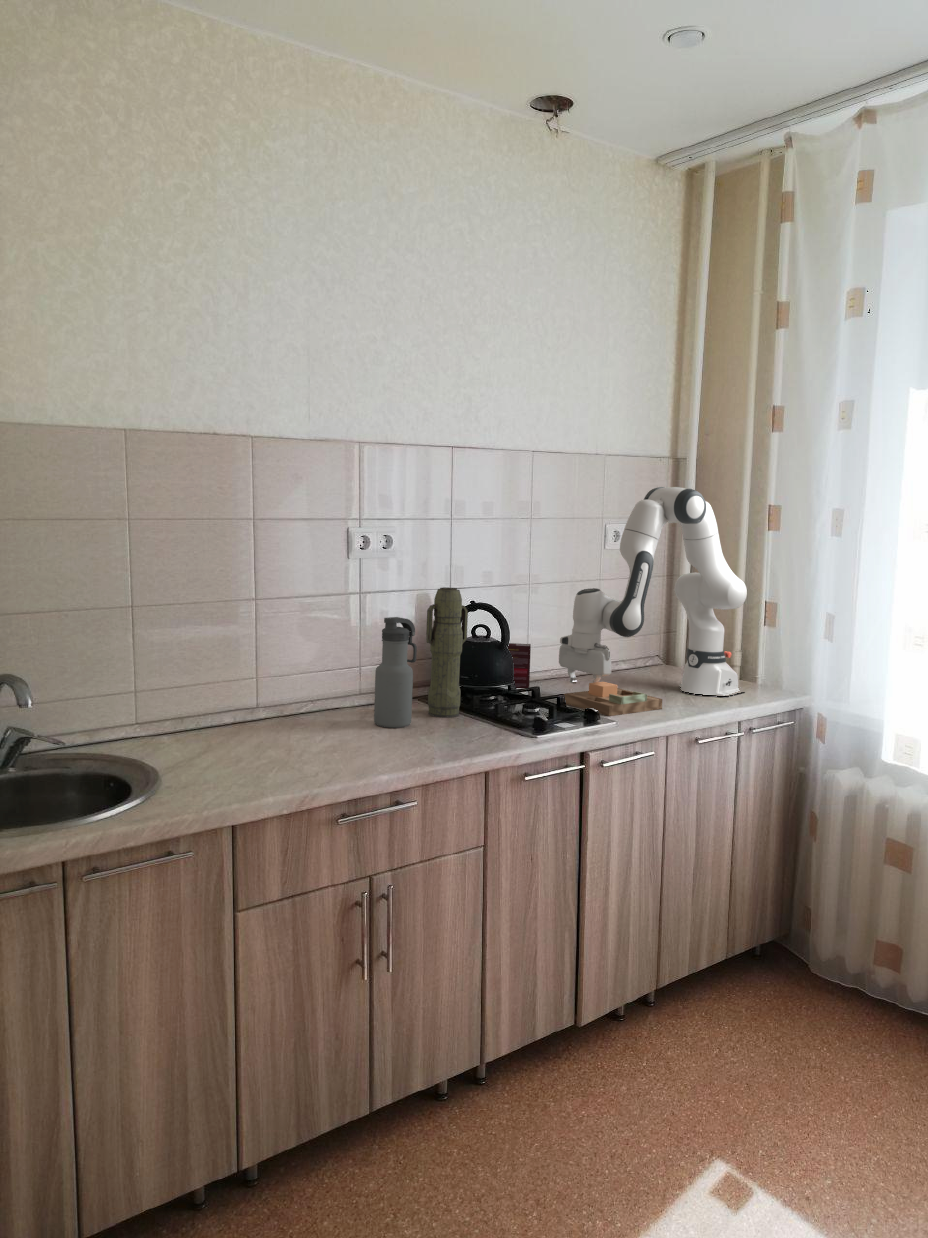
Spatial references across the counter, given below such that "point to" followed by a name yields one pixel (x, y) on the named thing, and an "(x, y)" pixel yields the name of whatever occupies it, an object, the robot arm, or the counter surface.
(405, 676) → the water bottle
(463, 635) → the thermos
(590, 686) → the block
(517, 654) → the supplement box
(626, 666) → the counter surface
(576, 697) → the board
